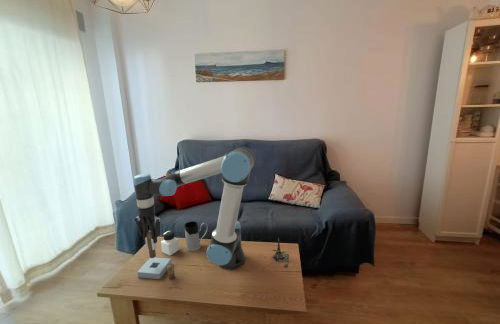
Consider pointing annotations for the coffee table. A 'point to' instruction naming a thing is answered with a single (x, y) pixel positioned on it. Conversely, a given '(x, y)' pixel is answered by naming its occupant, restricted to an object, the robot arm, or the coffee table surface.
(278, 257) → the grey-green irregular piece
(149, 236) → the long pin
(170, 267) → the short pin
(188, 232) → the grey black mug
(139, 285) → the coffee table surface
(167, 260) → the collar plate
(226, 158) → the robot arm
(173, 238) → the medicine bottle
